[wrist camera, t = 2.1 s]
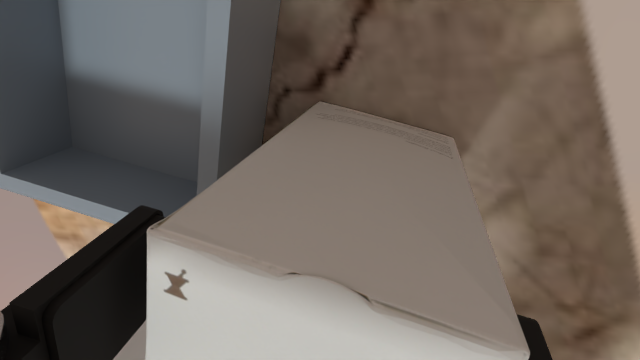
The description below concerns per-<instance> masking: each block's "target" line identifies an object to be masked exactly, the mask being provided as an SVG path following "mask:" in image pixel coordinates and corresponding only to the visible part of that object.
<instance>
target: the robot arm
mask: <svg viewBox="0 0 640 360" xmlns="http://www.w3.org/2000/svg"><path fill="white" fill-rule="evenodd" d="M164 218H166V217H164V215H163V212H162V211H161V210H158V209H154V208H151V207H148V206H144V205H140V206H138V207H137V208H136V209H134V210H133V211H132V212H130V213H129V214H128V215H126V216H125V217H124V218H122V219H121V220H119V221H118V222H117V223H115V224H114V225H113V226H111V227H110V228H109V229H107V230H106V231H105V232H103V233H102V234H101V235H99V236H98V237H97V238H95V239H94V240H93V241H91V242H90V243H89V244H87V245H86V246H85V247H83V248H82V249H81V250H79V251H78V252H77V253H75V254H74V255H73V256H71V257H70V258H69V259H67V260H66V261H65V262H63V263H62V264H61V265H59V266H58V267H57V268H55V269H54V270H53V271H51V272H50V273H49V274H47V275H46V276H45V277H43V278H42V279H41V280H39V281H38V282H37V283H35V284H34V285H33V286H31V287H30V288H29V289H27V290H26V291H25V292H24V293H22V294H20V295H19V296H18V297H16V298H15V299H14V300H13V301H11V302H10V305H8V306H7V307H6V308H4V309H3V310H2V311H0V360H113V359H114V358H115V356H116V355H117V354H118V353H119V352H120V351H121V349H122V348H123V347H124V346H125V345H126V343H127V342H128V341H129V340H130V339H131V337H132V336H133V335H134V334H135V333H136V331H137V330H138V329H139V328H140V327H141V325H142V324H143V323H144V322H145V321H146V316H147V229H148V228H149V227H150V226H152V225H153V224H155V223H157V222H159V221H161V220H163V219H164ZM516 315H517V314H516ZM517 317H518V320H519V323H520V326H521V328H522V331H523V334H524V337H525V339H526V342H527V345H528V347H529V350H530V356H529V359H528V360H552V357H551V355H550V352H549V349H548V347H547V344H546V342H545V339H544V336H543V334H542V331H541V329H540V326H539V324H538V322H537V321H536V320H534V319H531V318H527V317H524V316H521V315H517Z"/></svg>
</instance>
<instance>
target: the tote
mask: <svg viewBox="0 0 640 360" xmlns="http://www.w3.org/2000/svg"><path fill="white" fill-rule="evenodd" d="M280 2H281V0H0V188H1V189H5V190H8V191H11V192H15V193H17V194H21V195H24V196H27V197H30V198H33V199H37V200H40V201H43V202H46V203H49V204H52V205H56V206H59V207H62V208H65V209H68V210H72V211H75V212H78V213H81V214H84V215H87V216H91V217H94V218H97V219H100V220H103V221H107V222H110V223H113V224H115V223H117V222H118V221H119V220H121V219H122V218H124V217H125V216H126V215H128V214H129V213H130V212H132V211H133V210H134V209H136V208H137V207H138V206H140V205H144V206H148V207H151V208H154V209H158V210H161V211H162V212H163V215H164V217H168V216H169V215H171V214H172V213H174V212H175V211H177V210H178V209H180V208H181V207H182V206H184V205H185V204H186V203H188V202H189V201H190V200H192V199H193V198H194V197H196V196H197V195H199V194H200V193H201V192H203V191H204V190H205V189H207V188H208V187H209V186H210V185H212V184H213V183H214V182H216V181H217V180H218V179H219V178H221V177H222V176H223V175H225V174H226V173H227V172H228V171H230V170H231V169H232V168H234V167H235V166H236V165H237V164H239V163H240V162H241V161H243V160H244V159H245V158H246V157H248V156H249V155H250V154H252V153H253V152H254V151H256V150H257V149H258V148H259V147H261V146H262V140H263V132H264V125H265V117H266V109H267V102H268V94H269V86H270V79H271V71H272V63H273V55H274V48H275V40H276V32H277V25H278V17H279V9H280Z"/></svg>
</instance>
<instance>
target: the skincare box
mask: <svg viewBox="0 0 640 360" xmlns="http://www.w3.org/2000/svg"><path fill="white" fill-rule="evenodd" d="M529 356H530V350H529V347H528V345H527V342H526V339H525V337H524V334H523V331H522V328H521V326H520V323H519V320H518V317H517V315H516V312H515V309H514V306H513V303H512V300H511V298H510V295H509V292H508V289H507V287H506V284H505V281H504V278H503V275H502V273H501V270H500V267H499V264H498V261H497V259H496V256H495V253H494V250H493V248H492V245H491V242H490V239H489V236H488V234H487V231H486V228H485V226H484V223H483V220H482V217H481V214H480V211H479V208H478V205H477V203H476V200H475V197H474V194H473V191H472V188H471V186H470V183H469V180H468V177H467V175H466V172H465V169H464V166H463V163H462V160H461V157H460V155H459V152H458V149H457V146H456V143H455V141H454V138H452V137H449V136H446V135H443V134H439V133H436V132H432V131H429V130H425V129H421V128H418V127H414V126H411V125H407V124H403V123H400V122H396V121H393V120H389V119H385V118H382V117H378V116H375V115H371V114H367V113H364V112H360V111H356V110H353V109H349V108H345V107H341V106H337V105H333V104H329V103H325V102H321V101H320V102H318V103H316V104H315V105H313V106H312V107H311V108H309V109H308V110H307V111H306V112H305V113H303V114H302V115H301V116H300V117H298V118H297V119H296V120H294V121H293V122H292V123H291V124H289V125H288V126H287V127H285V128H284V129H283V130H281V131H280V132H279V133H278V134H276V135H275V136H274V137H272V138H271V139H270V140H269V141H267V142H266V143H265V144H263V145H262V146H261V147H259V148H258V149H257V150H256V151H254V152H253V153H252V154H250V155H249V156H248V157H246V158H245V159H244V160H243V161H241V162H240V163H239V164H237V165H236V166H235V167H234V168H232V169H231V170H230V171H228V172H227V173H226V174H225V175H223V176H222V177H221V178H219V179H218V180H217V181H216V182H214V183H213V184H212V185H210V186H209V187H208V188H207V189H205V190H204V191H203V192H201V193H200V194H199V195H197V196H196V197H194V198H193V199H192V200H190V201H189V202H188V203H186V204H185V205H184V206H182V207H181V208H180V209H178V210H177V211H175V212H174V213H172V214H171V215H169V216H168V217H166V218H164V219H163V220H161V221H159V222H157V223H155V224H153V225H152V226H150V227H149V228H148V229H147V316H146V355H145V360H528V359H529Z"/></svg>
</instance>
